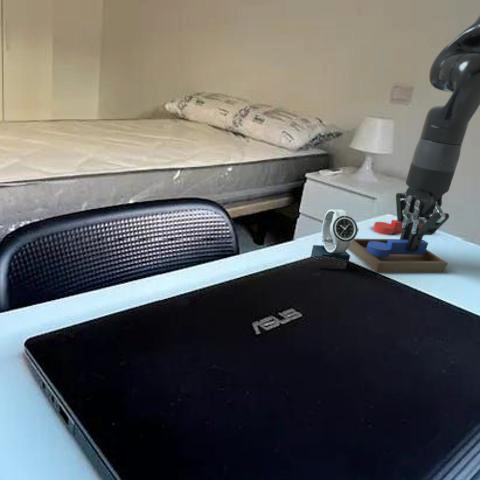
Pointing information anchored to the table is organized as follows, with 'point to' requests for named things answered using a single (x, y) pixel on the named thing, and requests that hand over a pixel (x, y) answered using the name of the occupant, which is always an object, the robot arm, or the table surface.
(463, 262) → the table surface
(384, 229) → the red spoon
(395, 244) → the blue spoon
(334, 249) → the watch
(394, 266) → the tray
